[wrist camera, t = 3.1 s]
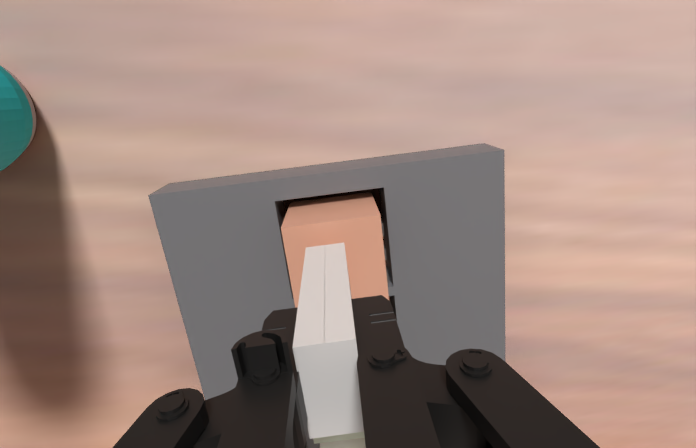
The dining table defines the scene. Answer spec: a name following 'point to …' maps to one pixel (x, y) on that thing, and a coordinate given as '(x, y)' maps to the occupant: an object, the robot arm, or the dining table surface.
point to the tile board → (400, 243)
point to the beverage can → (14, 118)
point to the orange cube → (339, 240)
